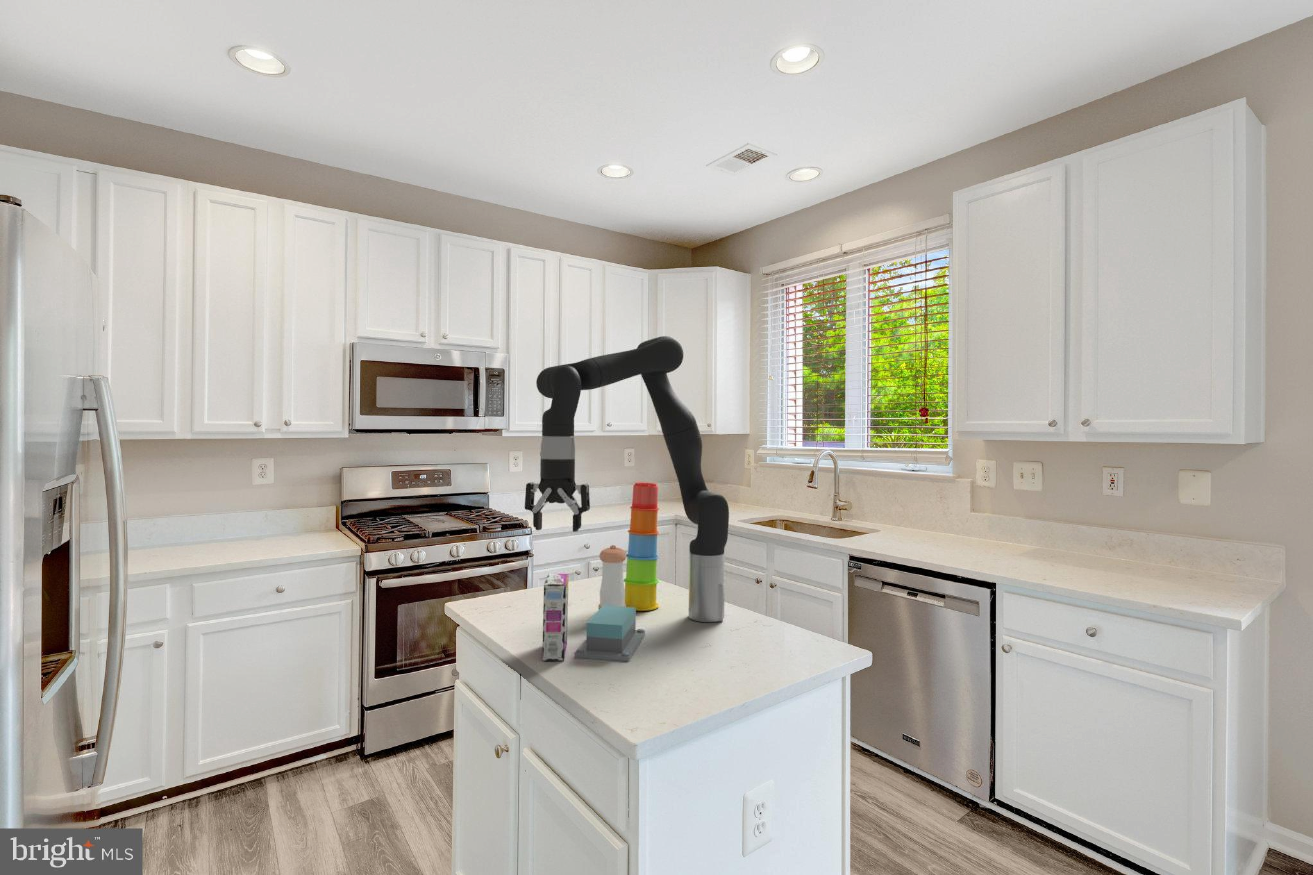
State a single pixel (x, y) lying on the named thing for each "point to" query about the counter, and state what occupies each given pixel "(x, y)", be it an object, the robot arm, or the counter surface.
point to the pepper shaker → (612, 577)
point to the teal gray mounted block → (611, 635)
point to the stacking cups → (642, 549)
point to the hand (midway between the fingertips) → (557, 530)
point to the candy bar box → (555, 617)
